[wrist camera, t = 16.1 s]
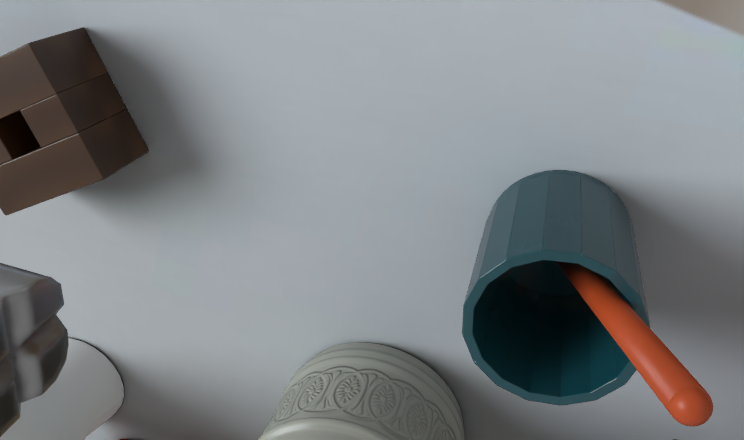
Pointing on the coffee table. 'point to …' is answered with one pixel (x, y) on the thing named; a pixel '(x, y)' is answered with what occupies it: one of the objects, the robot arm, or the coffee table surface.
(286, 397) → the jar
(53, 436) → the cup
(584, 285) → the orange thin rod
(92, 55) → the brown wooden square block
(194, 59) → the coffee table surface
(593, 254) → the teal cup
